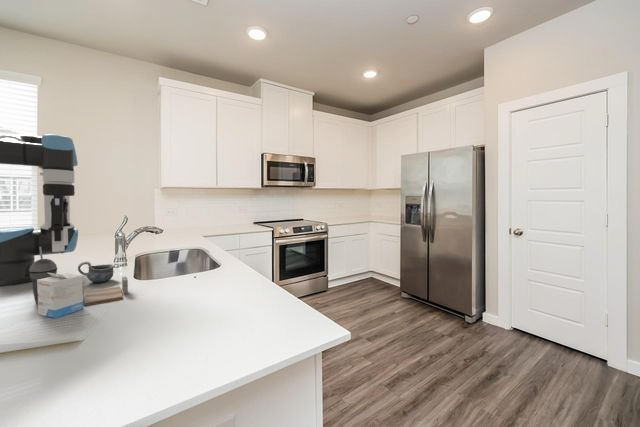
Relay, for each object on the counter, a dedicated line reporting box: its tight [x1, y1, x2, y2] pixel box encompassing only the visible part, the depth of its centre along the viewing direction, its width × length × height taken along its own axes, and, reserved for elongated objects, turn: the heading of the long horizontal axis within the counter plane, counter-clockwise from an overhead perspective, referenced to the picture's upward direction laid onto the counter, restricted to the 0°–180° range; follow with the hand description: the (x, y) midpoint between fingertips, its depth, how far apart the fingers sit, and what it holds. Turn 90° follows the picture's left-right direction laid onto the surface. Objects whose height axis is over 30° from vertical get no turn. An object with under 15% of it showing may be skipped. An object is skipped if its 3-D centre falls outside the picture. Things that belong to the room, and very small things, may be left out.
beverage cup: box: [29, 247, 58, 305], centre depth 99 cm, size 7×7×20 cm
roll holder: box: [82, 275, 129, 307], centre depth 106 cm, size 15×15×6 cm
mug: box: [77, 261, 115, 284], centre depth 122 cm, size 10×12×10 cm
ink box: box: [37, 272, 85, 319], centre depth 91 cm, size 9×8×13 cm
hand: (60, 248), depth 91 cm, fingers open, 13 cm apart
